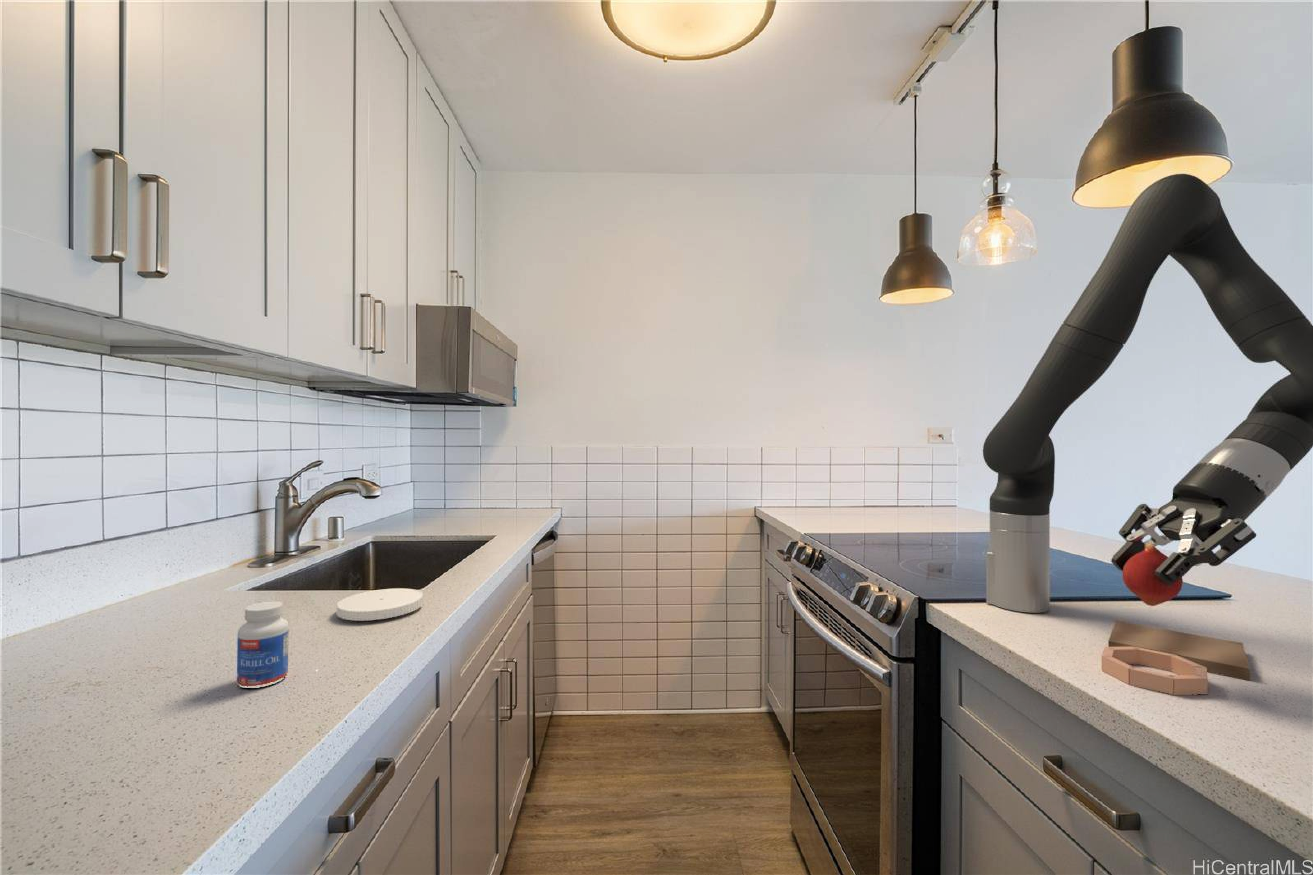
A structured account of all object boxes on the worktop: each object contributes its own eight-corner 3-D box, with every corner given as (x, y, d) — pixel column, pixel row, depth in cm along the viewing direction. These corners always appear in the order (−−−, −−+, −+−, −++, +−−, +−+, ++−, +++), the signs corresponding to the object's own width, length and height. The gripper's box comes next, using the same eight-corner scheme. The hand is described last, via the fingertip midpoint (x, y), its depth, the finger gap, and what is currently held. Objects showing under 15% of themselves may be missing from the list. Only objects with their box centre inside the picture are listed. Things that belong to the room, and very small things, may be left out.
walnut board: (1108, 651, 80) (1108, 640, 80) (1115, 629, 89) (1115, 620, 89) (1249, 680, 70) (1249, 668, 70) (1242, 653, 79) (1242, 643, 79)
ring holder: (1099, 677, 71) (1099, 662, 71) (1106, 655, 78) (1107, 641, 78) (1208, 703, 64) (1208, 686, 64) (1205, 676, 72) (1206, 660, 72)
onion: (1167, 601, 73) (1168, 541, 73) (1192, 615, 68) (1193, 550, 68) (1114, 597, 75) (1114, 538, 75) (1135, 610, 70) (1135, 547, 70)
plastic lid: (415, 622, 94) (415, 608, 94) (324, 629, 91) (324, 614, 91) (429, 599, 108) (429, 586, 108) (350, 604, 104) (350, 591, 104)
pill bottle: (232, 694, 67) (232, 615, 67) (241, 677, 72) (241, 603, 72) (286, 685, 70) (285, 608, 70) (291, 669, 75) (291, 597, 75)
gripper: (1158, 458, 79) (1075, 541, 79) (1273, 464, 64) (1172, 567, 64) (1193, 495, 79) (1111, 578, 79) (1316, 510, 64) (1215, 612, 64)
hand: (1139, 572), depth 71 cm, fingers closed on onion, 5 cm apart
